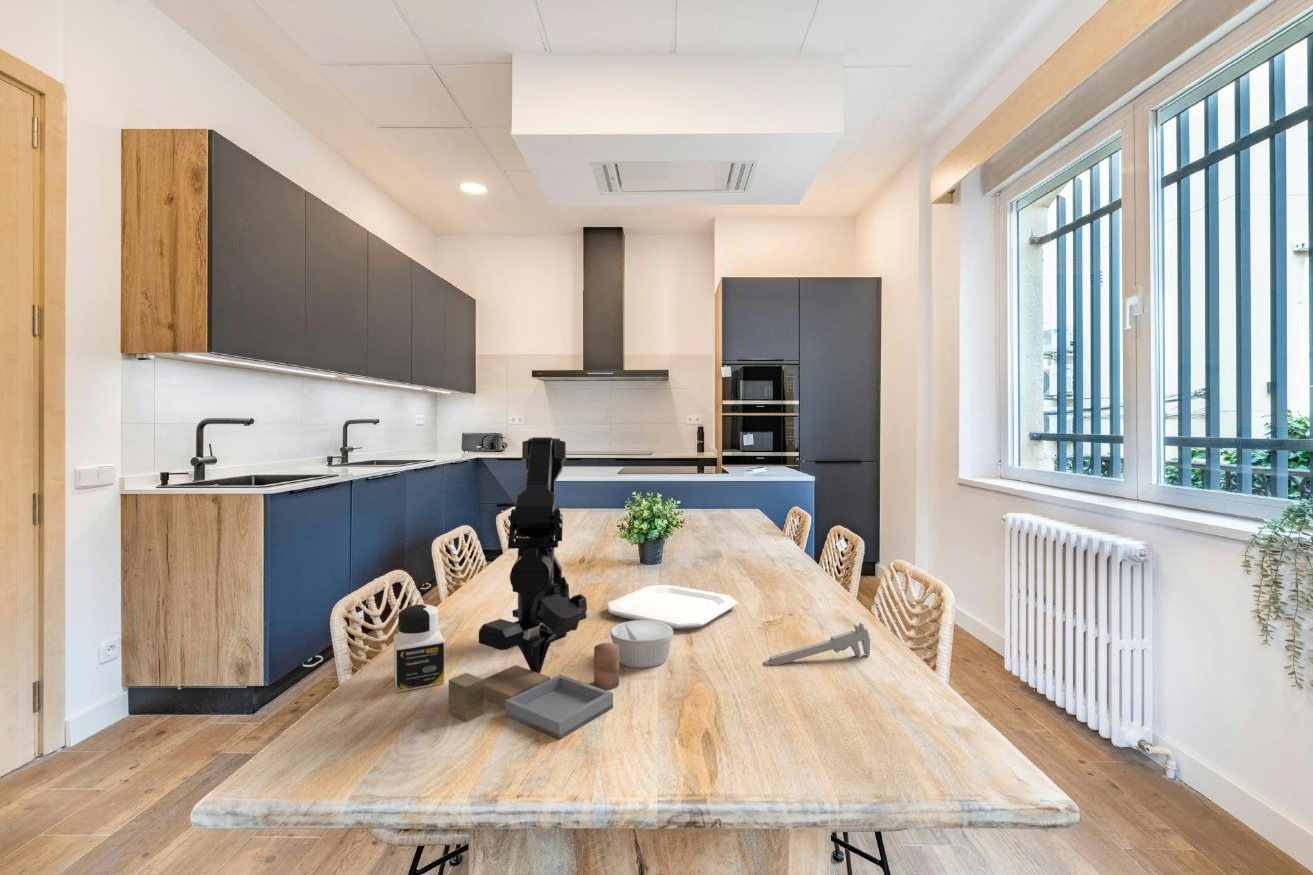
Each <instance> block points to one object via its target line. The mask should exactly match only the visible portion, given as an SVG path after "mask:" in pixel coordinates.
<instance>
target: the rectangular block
mask: <svg viewBox="0 0 1313 875" xmlns="http://www.w3.org/2000/svg"><path fill="white" fill-rule="evenodd" d="M483 679H484V678H480V677H478V676H475V675H473V674H471V673H469V672H465V673H463V674H460V675H457V676H455V677H452V678H450V679H448V714H449V716H452V717H454V718H456V719H459V720H461V721H462V722H465V723H467V722H469V721H472V720H474V719H476V718H478V717H479V716H482V715H484V698H483Z"/></svg>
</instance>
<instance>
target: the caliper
mask: <svg viewBox="0 0 1313 875" xmlns="http://www.w3.org/2000/svg"><path fill="white" fill-rule="evenodd" d="M853 627H854V630H849V631H846V632H843V633H839V634H836V635H833V636H830V639H827V640H823V641H819V642H817V643H813V644H809V645H806V646H802V647H799V648H794V649H792V650H791V649H790V650H788V651H784V652H781V653H778V654H774V655H771V656H769V659H767V660H764V661H763V662H762V664H763V665H764V666H765V667H767V666H770V665H771V666H778V665H783V664H787V663H791V662H793V661H796V660H800V659H803V658H804V659H805V658H807V657H811V656H814V655H817V654H821V653H824V652H825V653H826V652H828V651H831V650H833V651H834V652H835V653H839V652H841V651H846V650H847V649H848V648H849V647H850V648H851V650H852V652H853V653H854V655H855V656H856V657H857V656H861V650H860V645H859V642H861V645H862V649H863V654H866V655H867V656H868V657H869V656H870V654H871V638H870V635H869V630H868V629H867V628H866V627H865V626H864V624H863V623H862V622H859V623H858V625H856V624H853ZM866 655H865V656H866ZM867 656H866V657H867ZM861 657H862V656H861Z"/></svg>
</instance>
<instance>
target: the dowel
mask: <svg viewBox="0 0 1313 875" xmlns="http://www.w3.org/2000/svg"><path fill="white" fill-rule="evenodd" d="M593 653H594V654H593V669H594V671H593V682H594V684H593V686H595V687H597V688H600V689H603V690H606V691H610V690H614V689H616V688H618V687H619V686H620V685H619V684H620V662H619V646H618V645H616V644H613V642H611V643H610V642H604V643H599V644H596V645H595V646H594V648H593Z"/></svg>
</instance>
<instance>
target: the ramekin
mask: <svg viewBox="0 0 1313 875" xmlns="http://www.w3.org/2000/svg"><path fill="white" fill-rule="evenodd" d="M673 636H674V629H672V628H671V627H670V626H669V625H667V624H665V623H663V622H658V621H651V620H636V621H635V620H630V621H629V620H628V621H624V622H620V623H618V624H616V625H614V626H613V627H612V628H611V629H610V638H611V641H612V643H613V644H616V645H618V646H619V664H621V665H623V666H625V667H629V668H636V669H646V668H647V669H648V668H653V667H657V666H659V665H662V664H663V663H664V662H665V661H666V660H667V659H668V658H669V655H670V650H671V646H672V639H673Z"/></svg>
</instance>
